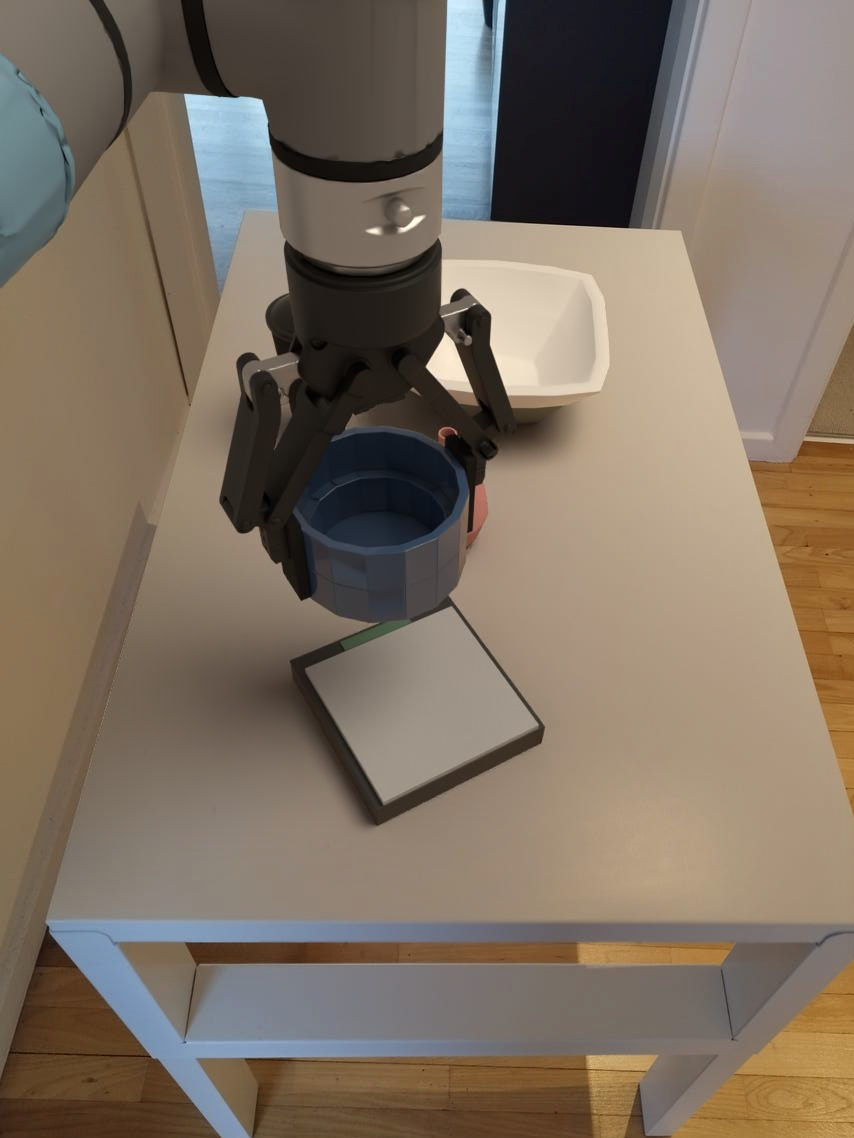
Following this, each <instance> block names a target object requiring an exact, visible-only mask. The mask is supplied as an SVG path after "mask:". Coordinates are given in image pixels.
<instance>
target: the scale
mask: <svg viewBox="0 0 854 1138" xmlns="http://www.w3.org/2000/svg"><path fill="white" fill-rule="evenodd" d="M289 664H290V671H291V674H292V679H293V680H294V682H295V684H296V686H297V687H298V689H299V691H300V692H301V695H302V696H303V698H304V700H305V702H306V703H307V705H308V707H309V709H310V710H311V712H312V714H313V716H314V718H315V719H316V721H317V723H318V724H319V726H320V728H321V729H322V731H323V733H324V735H325V736H326V738H327V740H328V742H329V743H330V745H331V747H332V749H333V750H334V752H335V754H336V755H337V758H338V759H339V761H340V762H341V764H342V766H343V768H344V770H345V771H346V773H347V774H348V777H349V778H350V780H351V782H352V783H353V785H354V787H355V789H356V791H357V792H358V793H359V796H360V798H361V799H362V801H363V803H364V804H365V807H366V809H367V810H368V812H369V813H370V815H371V817H372V818H373V820H374V822H375V824H376V826H380V825H382V824H384V823H386V822H388V821H389V820H391V819H393V818H396V817H397V816H399V815H401V814H403V813H405V812H407V811H409V810H411V809H413V808H415V807H417V806H419V805H421V804H423V803H425V802H427V801H429V800H432V799H433V798H435V797H437V796H439V795H441V794H443V793H445V792H447V791H449V790H451V789H453V788H455V787H458V785H461V784H462V783H464V782H466V781H468V780H471V779H472V778H475V777H476V776H479V775H480V774H483V773H484V772H487V771H488V770H490V769H492V768H494V767H496V766H498V765H500V764H502V763H505V762H506V761H508V760H510V759H512V758H514V757H516V756H518V755H520V754H522V753H524V752H526V751H528V750H529V749H532V748H534V747H536V746H537V745H540V744H542V743H543V739H544V738H543V737H544V735H545V734H544V733H545V729H546V726H545V724H544V723H543V722H542V720H541V719H540V717H539V716H538V715H537V713H536V712H535V710H534V709H533V708H532V706H531V705H530V703H529V702H528V701H527V700H526V698H525V697H524V695H522V693H521V692H520V690H519V689H518V688H517V686H516V685H515V684H514V682H513V681H512V680H511V678H510V677H509V675H508V674H507V673H506V671H505V670H504V668H503V667H502V665H501V664H500V663H499V662H498V661H497V659H496V657H495V656H494V655H493V653H492V652H491V650H489V648H488V646H487V645H486V644H485V643H484V641H483V640H482V639H481V637H480V636H479V635H478V633H477V632H476V631H475V629H474V628H473V626H472V625H471V624H470V622H469V621H468V619H467V618H466V616H465V615H464V614H463V612H462V611H461V609H459V607H458V606H457V605H456V603H455V602H454V601H453V599H452V598H451V596H450V594H449V595H448V596H447V597H446V598H445V599H444V600H443V601H442V602H441V603H440V604H439V605H438V606H436V607H435V608H433V609H431V610H428V611H426V612H424V613H422V614H419V615H417V616H415V617H412V618H410V619H408V620H402V621H391V622H380V623H375V624H373V625H371V626H369V627H366V628H363V629H362V630H359V631H357V632H354V633H352V634H350V635H347V636H345V637H343V638H341V639H337V640H335V641H333V642H330V643H328V644H326V645H323V646H321V647H319V648H317V649H314V650H312V651H309V652H307V653H304V654H302V655H299V656H297V657H295V658H292V659H290V660H289Z"/></svg>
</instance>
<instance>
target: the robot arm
mask: <svg viewBox="0 0 854 1138" xmlns="http://www.w3.org/2000/svg"><path fill="white" fill-rule="evenodd" d="M447 24H448V0H0V290H1V289H2V288H4V286H5V285H6V284H7V283H8V282H9V281H10V280H11V279H12V278H13V277H14V276H15V275H16V274H17V273H18V272H19V271H20V270H21V269H22V268H23V267H24V266H25V265H26V264H27V263H28V262H29V260H30V259H31V258H32V257H34V255H35V254H36V253H38V252H39V251H40V250H41V249H43V248H45V246H46V245H48V243H49V242H51V241H52V240H53V238H55V236H56V235H57V233H58V230H59V228H60V227H62V225H63V224H64V222H65V221H66V219H67V217H68V213H69V209H70V204H71V202H72V200H73V199H74V198H75V196H76V195H77V193H78V191H79V190H80V189H81V188H82V186H83V184H84V182H85V181H86V180H87V178H88V177H89V175H91V172H92V171H93V169H94V168H95V167H96V165H97V163H98V162H99V160H100V159H101V157H102V156H103V155H104V153H105V152H106V151H107V150H109V148H110V147H111V146H112V145H113V144H114V143H115V142H116V140H118V138H119V137H120V136H121V134H122V133H123V132H124V130H125V128H126V127H127V126H128V125H129V123H130V121H132V119H133V117H134V116H135V115H136V113H137V112H138V110H139V109H140V108H141V106H142V105H143V103H144V102H145V101H146V99H147V98H148V97H149V95H150V93H167V94H168V93H170V94H180V95H181V94H183V95H192V96H193V95H195V96H206V97H207V96H209V97H217V98H228V99H239V98H251V99H257V100H260V101H262V104H263V108H264V112H265V116H266V118H267V125H266V126H267V133H268V141H269V146H270V151H271V159H272V161H271V162H272V167H273V176H274V177H273V178H274V186H275V195H276V204H277V212H278V220H279V229H280V232H281V234H282V236H283V239H285V241H284V245H283V256H284V257H283V258H284V264H285V271H286V280H287V288H288V293H289V296H290V304H291V311H292V316H293V321H294V327H295V332H294V338H293V341H292V343H291V346H290V349H289V353H286V354H282V355H279V356H277V355H275V356H273V357H268V358H266V359H263V360H261V359H260V358H259V356H258V355H257V354H256V353H254V352H250V351H249V352H247V351H246V352H244V353H242V354H240V355H239V356H238V357H237V360H236V361H235V368H236V373H237V378H238V379H237V380H238V385H239V389H240V398H239V403H238V405H237V406H238V407H237V410H236V411H237V412H236V416H235V422H234V426H233V432H232V435H231V439H230V440H231V441H230V446H229V450H228V456H227V460H226V463H225V464H226V465H225V469H224V470H225V471H224V475H223V479H222V484H221V489H220V493H219V498H218V503H219V504H220V507H221V508H222V510H223V511H224V513H225V515H226V516H227V518H228V519H229V522H230V523H231V525H232V526H233V527H234V530H235V531H236V532H237V533H238V534H241V535H244V534H249V533H250V532H252V531H253V530H254V529H255V528H258V531H259V536H260V541H261V545H262V547H263V549H264V550H265V552H266V553H267V555H268V556H269V558H270V560H271V561H272V562H273V563H274V564H275V565H278V564H281V568H282V573H283V575H284V576H285V578H286V580H287V581H288V584H289V585H290V586H291V588H292V589H293V592H294V593H295V594H296V596H297V597H298V599H299V600H300V602H302V601H305V600H308V599H311V598H310V597H312V595H311V588H310V581H309V575H308V568H307V562H306V555H305V548H304V542H303V535H302V529H301V524H300V522H299V521H298V519H297V518H296V516H295V515H294V514H293V510H294V508H295V506H296V504H297V503H298V501H299V499H300V497H301V495H302V493H303V492H304V490H305V488H306V486H307V484H308V482H309V481H310V479H311V477H312V475H313V473H314V471H315V469H316V468H317V466H318V464H319V462H320V460H321V458H322V457H323V455H324V453H325V451H326V449H327V447H328V445H329V444H330V442H331V440H332V438H333V437H334V436H335V435H338V436H339V435H341V434H342V432H343V431H344V429H345V430H346V428H345V427H347V425H348V424H349V422H350V420H351V418H352V417H353V415H354V416H357V415H361V414H363V413H367V412H369V411H371V410H372V409H373V408H375V407H377V406H379V405H382V404H391V403H393V404H394V403H397V402H399V401H401V400H405V399H406V394H407V393H409V392H410V391H411V389H412V388H413V387H414V389H415V390H416V391H417V392H418V393H419V394H420V395H421V396H420V395H419V396H420V397H421V398H423V399H424V400H425V401H426V402H427V404H429V405H430V406H431V407H432V408H433V409H434V410H435V411H436V412H437V413H438V414H439V415H440V416H441V417H442V419H444V420H445V421H446V422H447V423H448V424H449V426H451V428H453V429H455V430H456V432H457V435H456V434H455V433H454V434H451V435H448V436H446V437H445V447H446V448H447V449H448V450H449V451H450V452H451V453H452V454H453V456H454V457H455V458H456V459H457V460H458V461H459V463H460V464H461V465H462V466H463V467H464V469H465V474H466V478H467V483H468V488H469V510H468V528H467V533H469V532H472V531H473V518H474V501H475V486H478V485H480V484H482V483H483V484H484V481H485V478H486V470H487V469H486V468H487V462H489V461H492V460H493V459H494V458H495V457H496V456H497V455H498V454H499V446H498V445H497V444H496V443H495V441H493V440H495V438H497V437H498V436H500V435H501V436H503V437H509V436H510V435H512V434H513V433H514V432H515V431H516V429H517V426H518V424H517V422H516V419H515V416H514V413H513V411H512V408H511V405H510V402H509V399H508V396H507V393H506V390H505V387H504V384H503V381H502V378H501V375H500V372H499V370H498V367H497V364H496V361H495V358H494V355H493V352H492V349H491V346H490V335H491V314H490V312H489V311H488V310H487V309H486V308H485V307H484V306H483V305H482V304H481V303H479V302H478V301H477V300H476V299H475V298H474V297H473V296H472V295H471V294H470V293H469V292H468V291H467V290H466V289H464V288H461V289H458V290H456V291H455V292H454V293H453V294H452V296H451V299H450V303H449V304H446V305H443V306H441V285H442V260H443V247H442V242H441V240H440V238H439V237H440V236H441V234H442V224H443V171H444V170H443V169H444V168H443V165H444V164H443V163H444V162H443V161H444V128H445V127H444V126H445V125H444V123H445V93H446V91H445V90H446V62H447V61H446V59H447V29H448V25H447ZM444 333H446V334H447V335H448V336H449V337H450V338H451V339H452V340H453V341H454V344H455V347H456V349H457V352H458V354H459V357H460V359H461V362H462V365H463V367H464V370H465V372H466V375H467V377H468V380H469V383H470V385H471V388H472V390H473V393H474V395H475V398H476V401H477V403H478V406H479V408H480V412H479V413H478V414H476V415H475V416H473V417H471V416H470V415H469V414H468V413H467V412H466V411H465V410H464V409H463V407H462V406H461V405H460V404H459V403H458V402H457V401H456V400H455V399H454V398H453V396H452V395H451V394H450V393H449V392H448V391H447V390H446V389H445V388H444V387H443V386H442V384H441V383H440V382H439V381H438V380H437V379H436V378H435V377H434V376H433V375H432V373H431V372H430V371H429V370H428V369H427V368H426V366H427V364H428V362H429V361H430V359H431V357H432V356H433V354H434V352H435V351H436V349H437V347H438V346H439V344H440V342H441V341H442V339H443V336H444ZM299 378H301V379H302V380H303V382H302V384H301V386H300V388H299V390H298V392H297V395H296V401H297V406H296V409H295V411H294V413H293V414H292V413H291V416H290V419H289V420H288V422H287V424H286V426H285V428H284V430H283V432H282V434H281V436H280V438H279V441H278V436H279V432H280V428H281V422H282V407H283V406H284V407H285V406H286V405H288V404H289V397H288V394H289V388H290V386H291V384H292V383H293V382H294V381H295V380H296V379H299ZM323 397H324V398H325V399H327V400H328V401H329V402H330V403H331V404H330V406H328V405H327V403H326V402H325V401H324V399H323ZM458 434H459V436H458ZM277 441H278V442H277Z"/></svg>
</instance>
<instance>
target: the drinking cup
mask: <svg viewBox="0 0 854 1138" xmlns="http://www.w3.org/2000/svg"><path fill="white" fill-rule="evenodd" d="M264 313H265V314H264V319H265V324H266V326H267V328H268V330H269V331H270V332H271V336H272V340H273V344H274V349H275V354H276V356H279V355H282V354H286V353H289V349H290V346H291V343H292V341H293V338H294V332H295V327H294V321H293V316H292V311H291V304H290V296H289V292H287V293H284V294H282V295H280V296H278V297H276V298H275V299H274V300H272V301H271V303H269V305H268V306H267V308H266V310H265V312H264ZM302 382H303V380H302V379H301V378H299V379H296V380H295V381H294V382H293V383H292V384H291V386H290V388H289V394H288V397H289V402H288V406H289V409H290V413H291V415H292V414H293V413H294V411H295V409H296V406H297V401H296V395H297V392H298V390H299V388H300V386H301V384H302ZM323 399H324V401H325V402H326V403H327V405H328V406H330V404H331V403H330V402H329V401H328V400H327V399H325V398H324V397H323ZM346 427H347V426H346ZM346 427H345V429H344V431H345V430H346V429H347V428H346Z"/></svg>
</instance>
